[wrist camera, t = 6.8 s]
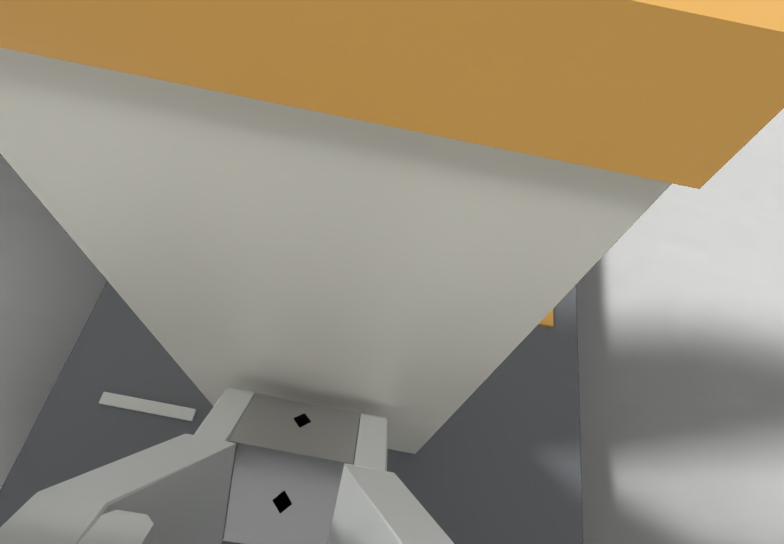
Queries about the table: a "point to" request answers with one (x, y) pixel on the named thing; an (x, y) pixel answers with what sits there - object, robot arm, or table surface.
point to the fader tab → (369, 169)
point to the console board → (417, 471)
